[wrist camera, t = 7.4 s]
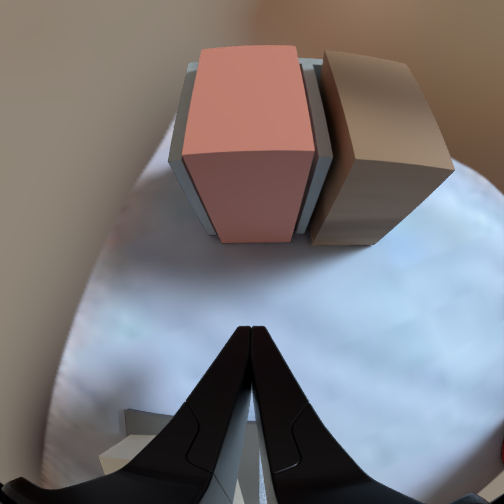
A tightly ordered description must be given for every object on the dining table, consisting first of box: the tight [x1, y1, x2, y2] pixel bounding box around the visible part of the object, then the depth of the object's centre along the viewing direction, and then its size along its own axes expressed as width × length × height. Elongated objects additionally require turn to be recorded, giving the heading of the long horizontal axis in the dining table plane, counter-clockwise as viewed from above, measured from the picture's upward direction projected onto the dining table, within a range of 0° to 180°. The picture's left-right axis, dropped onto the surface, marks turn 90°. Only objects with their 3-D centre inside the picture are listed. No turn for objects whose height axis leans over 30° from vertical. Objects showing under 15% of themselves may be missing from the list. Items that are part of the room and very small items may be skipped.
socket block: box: [168, 58, 333, 235], centre depth 14 cm, size 6×11×8 cm, turn 90°
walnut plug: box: [310, 50, 455, 246], centre depth 13 cm, size 6×4×9 cm, turn 0°
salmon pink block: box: [182, 45, 315, 243], centre depth 13 cm, size 6×4×9 cm, turn 0°
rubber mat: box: [125, 409, 259, 504], centre depth 12 cm, size 11×8×1 cm
